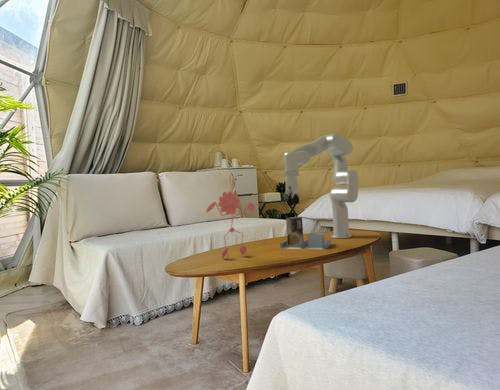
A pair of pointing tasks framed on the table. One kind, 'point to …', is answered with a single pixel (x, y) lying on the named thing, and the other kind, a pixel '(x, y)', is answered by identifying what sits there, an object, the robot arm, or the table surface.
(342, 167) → the robot arm
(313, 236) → the slate block
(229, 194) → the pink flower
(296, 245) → the coffee box
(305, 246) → the slot rack
